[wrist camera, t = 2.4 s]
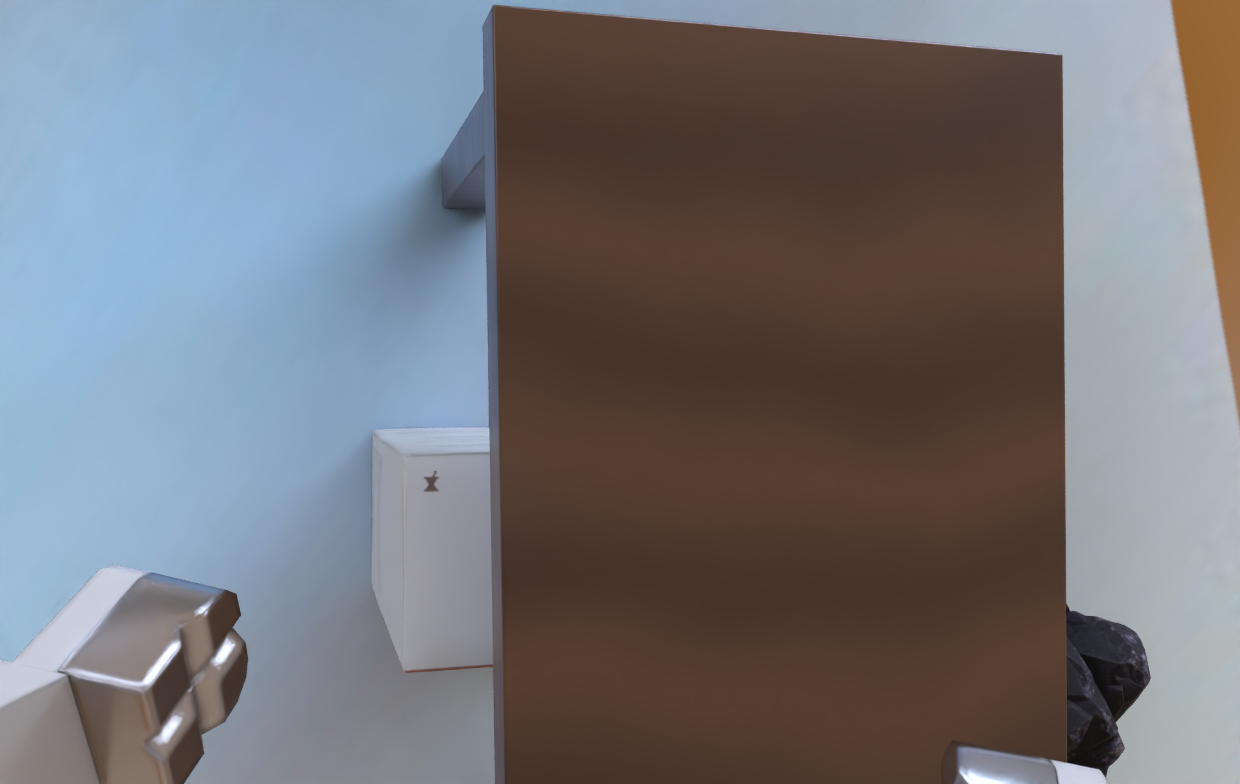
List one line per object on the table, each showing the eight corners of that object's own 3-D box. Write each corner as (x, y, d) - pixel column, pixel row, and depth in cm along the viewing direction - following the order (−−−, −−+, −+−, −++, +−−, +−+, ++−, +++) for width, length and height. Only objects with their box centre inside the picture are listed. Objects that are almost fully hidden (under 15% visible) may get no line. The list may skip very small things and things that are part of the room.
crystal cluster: (833, 890, 49) (984, 1026, 39) (773, 618, 46) (918, 695, 37) (1053, 773, 53) (1234, 871, 44) (1009, 521, 51) (1190, 568, 42)
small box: (369, 587, 42) (396, 677, 29) (370, 427, 42) (397, 448, 29) (569, 578, 44) (672, 657, 32) (570, 426, 44) (674, 445, 32)
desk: (415, 156, 42) (491, 3, 25) (783, 172, 47) (1063, 52, 29) (428, 854, 43) (511, 1178, 25) (790, 803, 47) (1070, 1048, 30)
